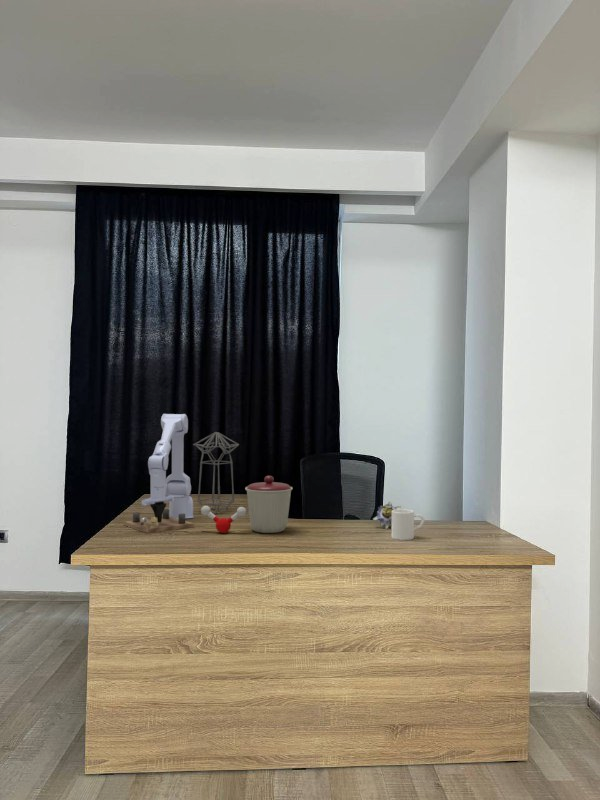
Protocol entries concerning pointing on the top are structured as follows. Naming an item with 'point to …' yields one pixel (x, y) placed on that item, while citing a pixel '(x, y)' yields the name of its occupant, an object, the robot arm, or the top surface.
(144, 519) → the metal crank handle
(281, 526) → the canister
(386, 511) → the passion flower
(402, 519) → the mug
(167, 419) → the robot arm
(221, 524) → the molecular model
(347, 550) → the top surface
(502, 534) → the top surface
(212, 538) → the top surface
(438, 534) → the top surface
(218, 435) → the geometric lantern
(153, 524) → the wooden board with pegs
